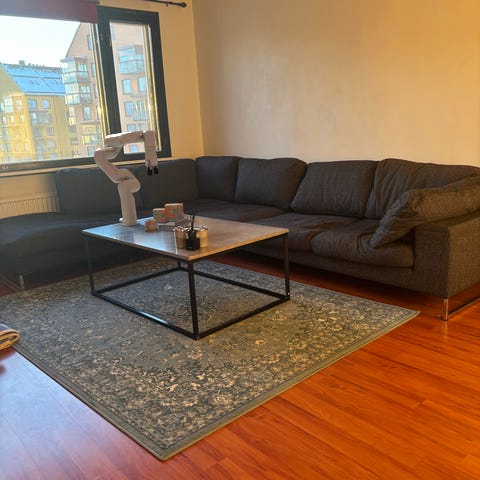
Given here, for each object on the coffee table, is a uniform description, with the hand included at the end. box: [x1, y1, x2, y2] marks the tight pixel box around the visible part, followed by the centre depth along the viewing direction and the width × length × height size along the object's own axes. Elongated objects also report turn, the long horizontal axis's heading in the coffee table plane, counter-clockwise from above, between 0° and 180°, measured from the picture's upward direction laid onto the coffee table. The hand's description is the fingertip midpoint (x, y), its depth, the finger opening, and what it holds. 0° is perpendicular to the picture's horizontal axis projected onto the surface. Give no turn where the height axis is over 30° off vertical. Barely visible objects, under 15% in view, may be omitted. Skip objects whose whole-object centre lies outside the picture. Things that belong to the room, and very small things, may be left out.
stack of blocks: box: [152, 203, 185, 223], centre depth 353 cm, size 21×6×12 cm, turn 85°
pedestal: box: [144, 218, 159, 233], centre depth 323 cm, size 6×6×7 cm
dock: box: [157, 217, 189, 232], centre depth 328 cm, size 14×16×6 cm
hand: (153, 174), depth 333 cm, fingers open, 9 cm apart
